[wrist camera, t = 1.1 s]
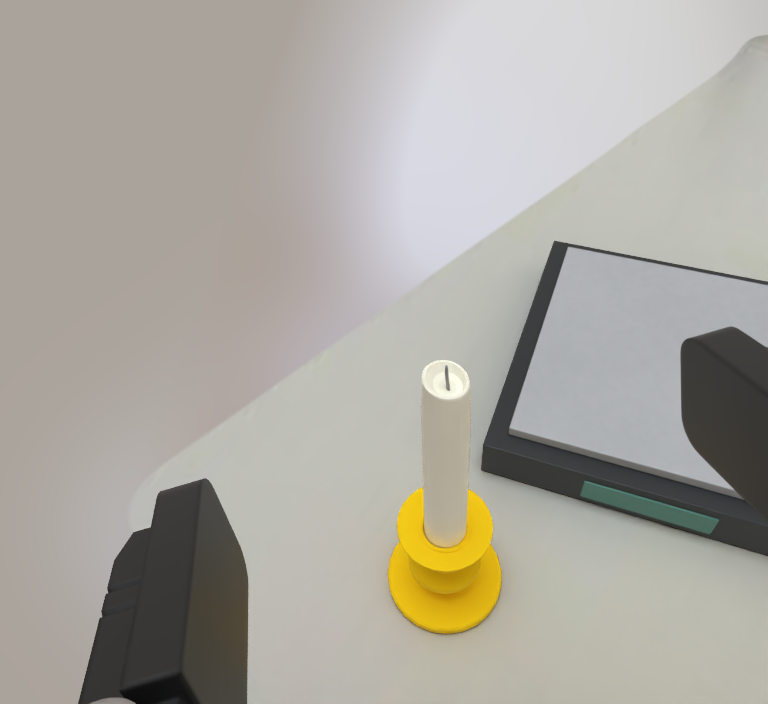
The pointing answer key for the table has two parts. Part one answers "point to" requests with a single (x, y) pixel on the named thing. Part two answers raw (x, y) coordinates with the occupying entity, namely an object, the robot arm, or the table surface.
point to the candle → (445, 519)
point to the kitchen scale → (622, 390)
